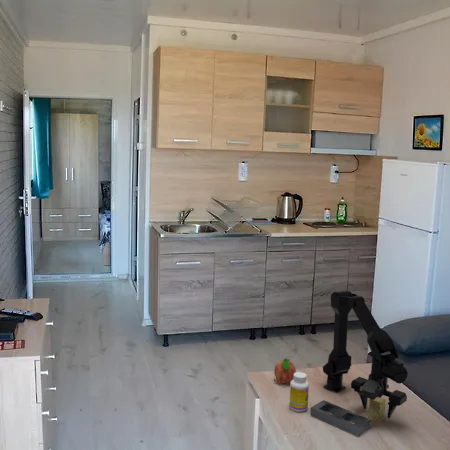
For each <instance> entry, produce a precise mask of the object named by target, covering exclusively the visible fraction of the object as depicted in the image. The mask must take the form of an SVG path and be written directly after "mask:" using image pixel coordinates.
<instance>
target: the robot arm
mask: <svg viewBox="0 0 450 450" xmlns="http://www.w3.org/2000/svg"><path fill="white" fill-rule="evenodd" d="M330 307H331V308H332V310H333V312H334V324H333V325H334V327H333V343H332V345H333V347H332V348H333V349H332V350H331V351H330V353H329V355H328V360H327V363H325V364H324V365H323V366H322V372H323V373H324V374H325V375H326V376H327V378H326V384H325V385H323V388H324V389H326V390H329V391H331V392H333V393H339V392H341V391H342V390H345V389H346V385H343V380H344V379H343V378H344V376H343V375H345V374H348V373H349V370H350V369H351V367H352V359H353V358H352V356H351V355H350V354H349V353H348V351H347V346H348V345H347V343H348V342H347V341H348V328H349V327H348V325H349V314H350V312H351V311H353V312H354V313H355V315H356V317H357V320H358V321H359V323H360V324H361V326H362V327H363V329H364V332H365V333H366V336H367V337H366V338H367V339H366V342H367V344H368V346H369V349H370V352H367V355H368V356H370V357H371V369H370V373H369V374H368V379H367V378H365V377H361V376H358V377H356V378H354V379H353V380H352V381H351V382H350V388H351V389H353V390H354V392H356V393H357V394H358V396H359V398H360V401H361V404H362V408H363V409H364V410H366V409H367V406H368V399H369V400H370V399H371V400H374V399H376V398H377V397H379V398H381V397H382V398H383V396H385V397H387V398H388V402H387V405H388V409H387V419H388V420H390V418H391V417H392V415H393V413H394V412H395V409H397V408H396V407H399V406H402V405H403V404H404V403H405V402H407V401H408V400H407V399H408V395H407V393H406V392H403V391H401V390H398V389H395V390H393V391H390V390H388V389H389V387H390V385H389V384H388V379H389V380H391V381H393V383H396V384H399V385H400V384H402V383H404V382H405V381H406V380H407V378H408V374H409V372H408V370H407V368H406V367H404V363H403V362H402V361H399V360H397V359H399V358H400V357H399V355H398V353H399V352H398V351H397V349H396V346H395V343H394V341H393V339H392V337H391V336H390V335H389V333H388V332H387V331H385V330H384V329H382V328H381V327H380V326H379V324H378V322H377V320H376V318H375V317H374V315H373V314H372V312H371V311H370V309H369V307H368V306H367V304H366V300H365V298H364V297H363V296H362V295H358V293H352V292H351V291H350V290H348V289H347V290H339V291H334V292H333V293H331V295H330ZM386 353H387V354H386Z"/></svg>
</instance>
